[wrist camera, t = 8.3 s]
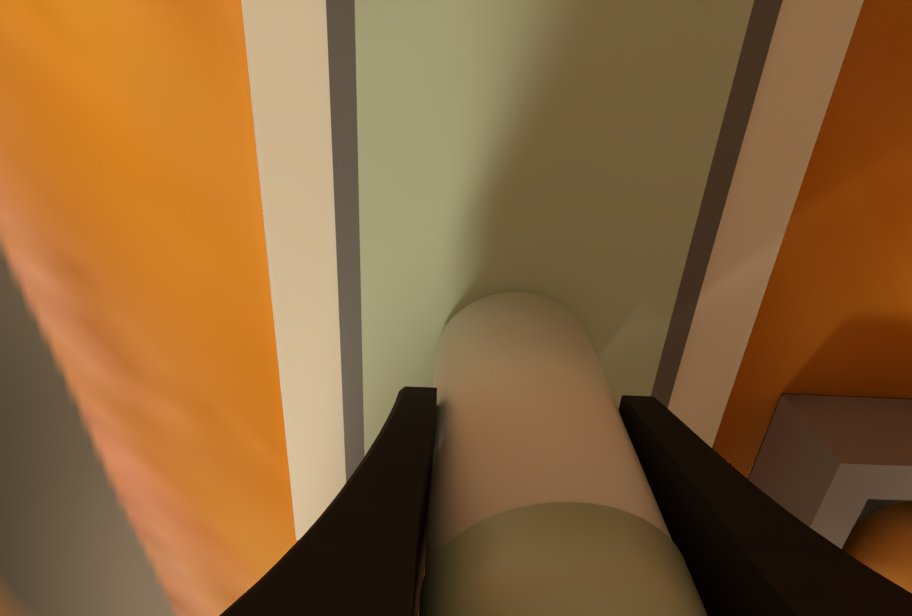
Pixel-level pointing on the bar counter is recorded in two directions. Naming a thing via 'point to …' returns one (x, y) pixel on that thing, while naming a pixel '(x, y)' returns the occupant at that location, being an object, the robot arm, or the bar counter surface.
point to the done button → (885, 543)
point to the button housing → (836, 459)
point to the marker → (539, 478)
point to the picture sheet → (524, 189)
